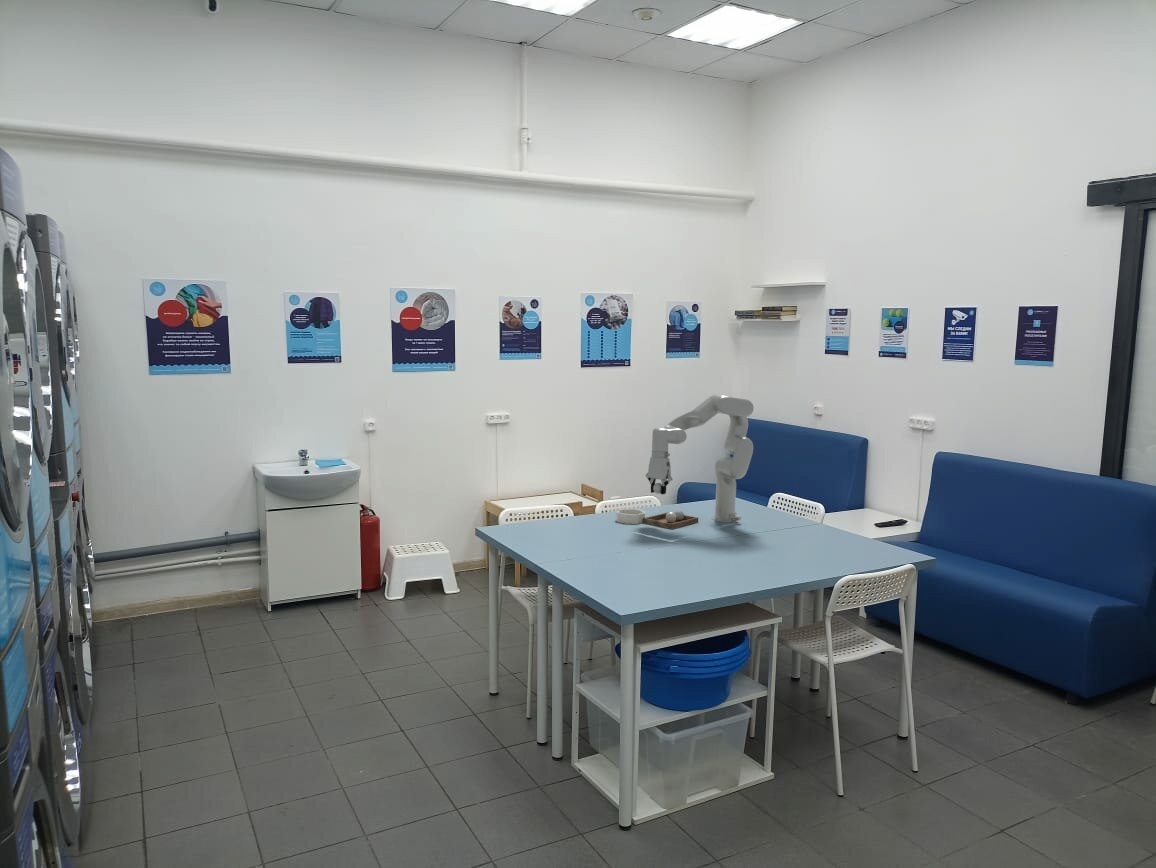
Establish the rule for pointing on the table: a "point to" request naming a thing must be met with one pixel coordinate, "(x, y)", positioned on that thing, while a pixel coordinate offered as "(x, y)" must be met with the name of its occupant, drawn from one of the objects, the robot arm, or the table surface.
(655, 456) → the robot arm
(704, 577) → the table surface
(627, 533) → the table surface
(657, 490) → the white ball
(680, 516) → the pebble
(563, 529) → the table surface
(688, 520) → the tray
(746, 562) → the table surface
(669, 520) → the pebble
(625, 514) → the bowl
